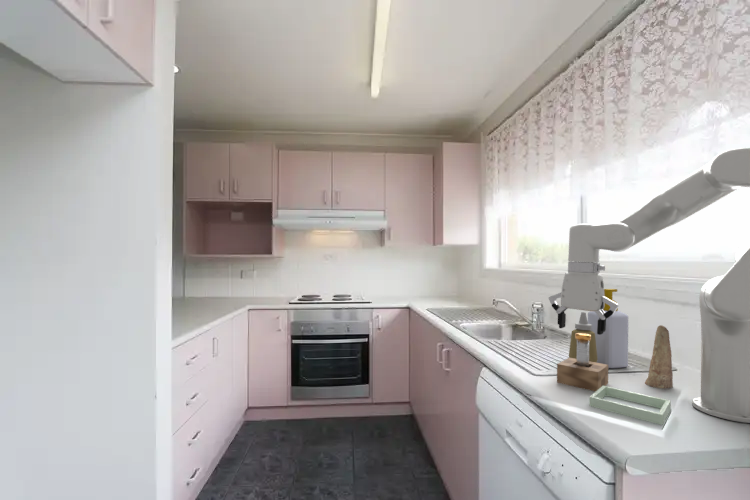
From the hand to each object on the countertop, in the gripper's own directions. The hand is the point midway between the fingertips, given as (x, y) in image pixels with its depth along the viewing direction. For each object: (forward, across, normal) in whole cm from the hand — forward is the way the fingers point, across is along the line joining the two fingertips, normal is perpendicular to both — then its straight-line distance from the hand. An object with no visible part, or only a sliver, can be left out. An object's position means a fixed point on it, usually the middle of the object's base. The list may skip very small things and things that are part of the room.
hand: (580, 330), depth 104 cm
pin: (+14, -1, 0) cm, 14 cm away
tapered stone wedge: (+15, -16, -14) cm, 26 cm away
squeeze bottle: (+15, +4, -18) cm, 24 cm away
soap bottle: (+15, 0, -30) cm, 34 cm away
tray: (+15, -14, +11) cm, 23 cm away
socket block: (+15, -1, 0) cm, 15 cm away
